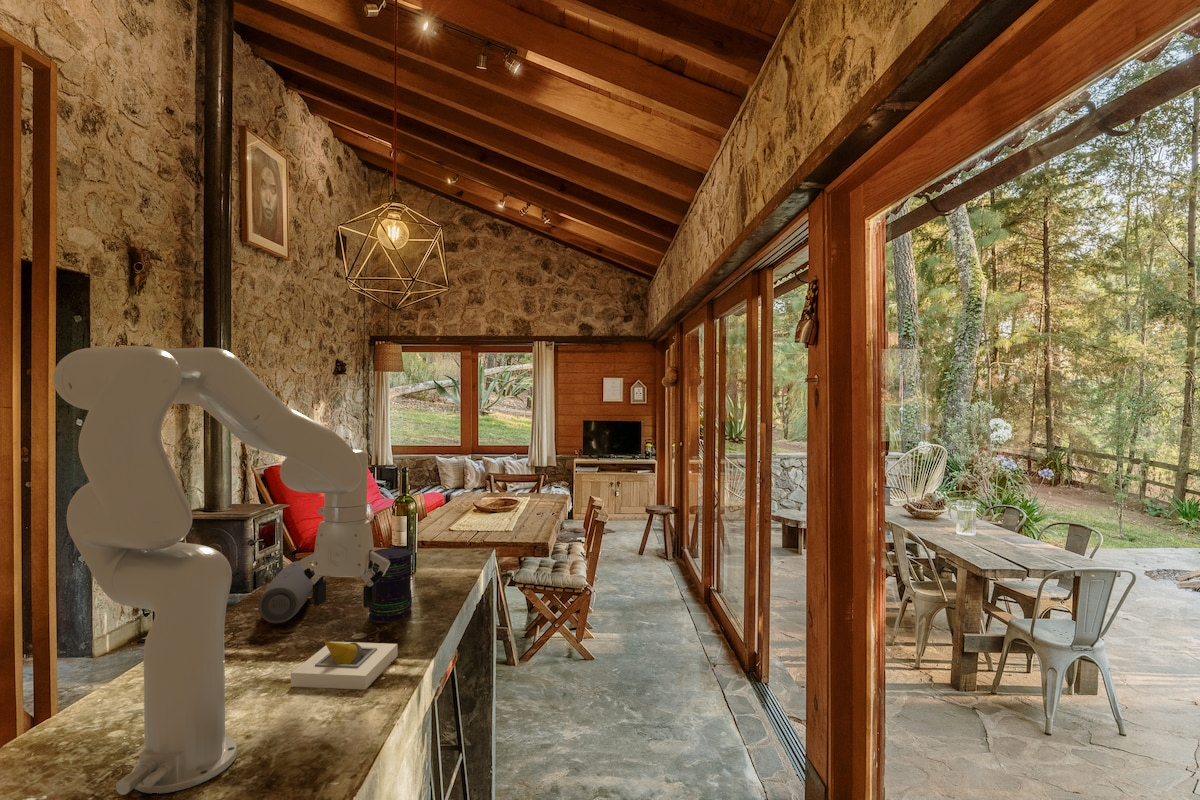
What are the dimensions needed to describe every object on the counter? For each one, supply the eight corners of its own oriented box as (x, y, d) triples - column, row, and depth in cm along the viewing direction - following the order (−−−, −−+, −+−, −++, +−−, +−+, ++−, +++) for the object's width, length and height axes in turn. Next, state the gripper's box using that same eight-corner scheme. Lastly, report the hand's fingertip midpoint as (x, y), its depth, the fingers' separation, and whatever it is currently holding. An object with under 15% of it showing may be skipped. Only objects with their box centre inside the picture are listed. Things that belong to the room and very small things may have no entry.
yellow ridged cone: (369, 672, 118) (333, 650, 112) (346, 682, 119) (309, 660, 113) (373, 647, 122) (339, 624, 116) (351, 656, 123) (316, 633, 117)
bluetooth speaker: (279, 598, 160) (279, 559, 159) (318, 595, 162) (318, 557, 162) (255, 631, 138) (255, 586, 138) (300, 627, 140) (300, 583, 140)
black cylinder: (368, 610, 150) (368, 549, 150) (410, 605, 154) (410, 546, 153) (368, 625, 141) (368, 560, 141) (413, 619, 144) (413, 556, 144)
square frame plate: (365, 689, 111) (365, 674, 110) (290, 686, 112) (290, 671, 112) (397, 656, 124) (397, 642, 124) (330, 653, 126) (330, 640, 126)
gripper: (290, 516, 114) (289, 609, 114) (381, 518, 113) (379, 612, 113) (313, 510, 122) (311, 597, 122) (397, 512, 121) (396, 600, 120)
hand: (344, 604), depth 117 cm, fingers open, 9 cm apart
